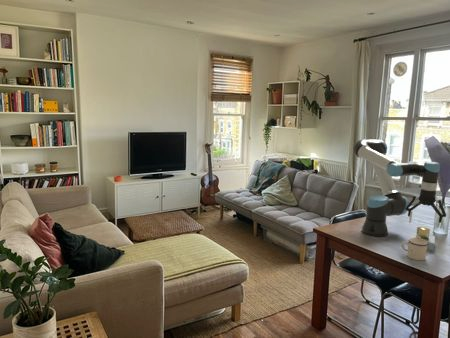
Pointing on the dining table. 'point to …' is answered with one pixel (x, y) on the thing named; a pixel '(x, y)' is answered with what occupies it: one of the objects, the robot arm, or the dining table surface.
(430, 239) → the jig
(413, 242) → the teacup with lid
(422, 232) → the gold cylinder
